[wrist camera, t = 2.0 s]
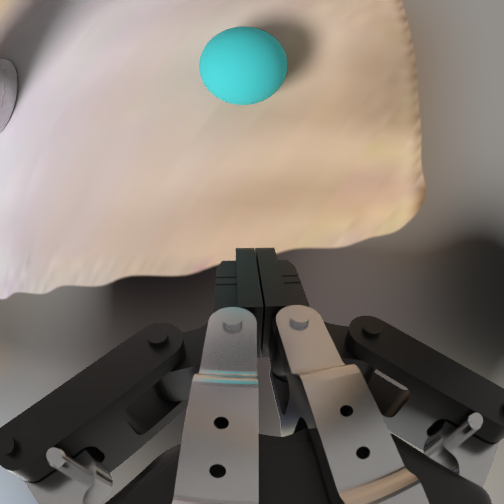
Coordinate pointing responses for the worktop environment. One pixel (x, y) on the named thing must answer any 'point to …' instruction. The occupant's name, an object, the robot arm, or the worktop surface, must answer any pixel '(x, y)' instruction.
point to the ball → (243, 65)
